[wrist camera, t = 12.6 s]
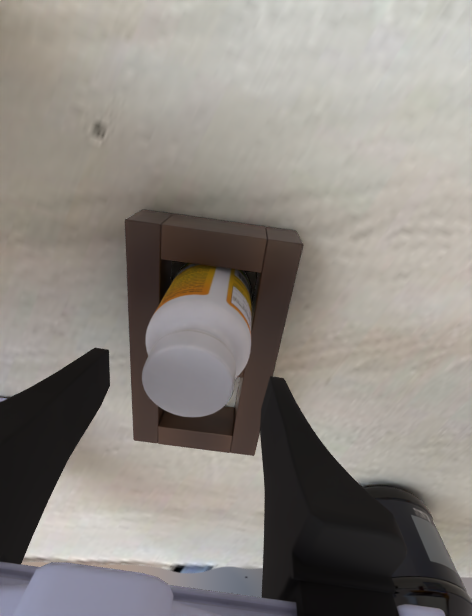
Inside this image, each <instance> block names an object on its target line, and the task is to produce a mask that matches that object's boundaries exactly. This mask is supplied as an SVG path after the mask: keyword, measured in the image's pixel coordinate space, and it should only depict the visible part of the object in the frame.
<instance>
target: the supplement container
mask: <svg viewBox="0 0 472 616" xmlns="http://www.w3.org/2000/svg"><path fill="white" fill-rule="evenodd" d="M364 489H365V490H366V491H367V492H368V493H369V494H370V495H371V496H373V497H374V498H375V499H376V500H377V501H379V502H380V503H381V504H382V505H383V506H384V507H386V508H387V509H388V510H389V511H390V512H391V513H393V515H394V518H395V520H396V522H397V524H398V526H399V528H400V531H401V533H402V536H403V538H404V541H405V544H406V546H407V555H406V557H405V559H404V561H403V563H402V564H401V565H400V566H399V567H398V569H397V570H396V571H395V572H394V573H393V575H392V579H393V582H394V585H395V593H394V594H393V593H392V594H393V597H394V601H395V604H396V607H397V606H399V605H404V604H408V605H417V606H424V607H431V608H438V609H441V610H442V611H444V613H445V616H472V598H471V597H470V596H469V595H468V593H467V591H466V589H465V587H464V585H463V583H462V581H461V579H460V576H459V574H458V572H457V570H456V568H455V566H454V564H453V562H452V560H451V557H450V555H449V553H448V551H447V549H446V547H445V545H444V543H443V541H442V539H441V537H440V534H439V532H438V530H437V528H436V526H435V524H434V522H433V518H432V516H431V514H430V511H429V510H428V508H427V507H426V505H425V504H424V503H423V502H422V501H421V500H420V499H419V498H418V497H416V496H415V495H413V494H411V493H409V492H407V491H404V490H402V489H398V488H394V487H387V486H370V487H364Z"/></svg>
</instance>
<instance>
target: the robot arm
mask: <svg viewBox="0 0 472 616" xmlns="http://www.w3.org/2000/svg"><path fill="white" fill-rule="evenodd" d="M109 386H110V372H109V350H106V349H100V348H94V349H92V350H90V351H89V352H87V353H86V354H84V355H83V356H81V357H80V358H78V359H77V360H75V361H74V362H72V363H71V364H69V365H67V366H66V367H64V368H63V369H61V370H59V371H58V372H56V373H55V374H53V375H51V376H49V377H48V378H46V379H44V380H43V381H41V382H39V383H37V384H36V385H34V386H32V387H30V388H28V389H26V390H24V391H22V392H20V393H18V394H16V395H14V396H12V397H10V398H8V399H7V398H0V616H445V613H444V611H442V610H441V609H438V608H431V607H424V606H417V605H408V604H404V605H399V606H397V607H396V604H395V601H394V597H393V594H394V593H395V585H394V582H393V579H392V575H393V573H394V572H395V571H396V570H397V569H398V567H399V566H400V565H401V564H402V563H403V561H404V559H405V557H406V555H407V546H406V544H405V541H404V538H403V536H402V533H401V531H400V528H399V526H398V524H397V522H396V520H395V518H394V515H393V513H391V512H390V511H389V510H388V509H387V508H386V507H384V506H383V505H382V504H381V503H380V502H379V501H377V500H376V499H375V498H374V497H373V496H371V495H370V494H369V493H368V492H367V491H366V490H365V489H364V488H363V487H362V486H361V485H360V484H359V483H357V482H356V481H355V480H354V479H353V478H352V477H351V476H350V475H349V474H348V472H347V471H346V470H345V469H344V468H343V467H342V466H341V465H340V464H339V463H338V462H337V461H336V459H335V458H334V457H333V456H332V455H331V454H330V452H329V451H328V450H327V449H326V447H325V446H324V445H323V443H322V442H321V441H320V439H319V438H318V437H317V435H316V434H315V432H314V431H313V429H312V428H311V426H310V425H309V423H308V422H307V420H306V418H305V417H304V415H303V413H302V412H301V410H300V408H299V406H298V405H297V403H296V401H295V399H294V397H293V395H292V393H291V391H290V389H289V387H288V385H287V383H286V381H285V380H284V378H278V377H272V376H270V379H269V382H268V386H267V389H266V393H265V396H264V400H263V404H262V407H261V419H260V435H261V448H262V460H263V471H264V486H265V514H264V554H263V580H262V598H260V597H253V596H246V595H238V594H231V593H223V592H216V591H210V590H202V589H195V588H188V587H180V586H173V585H168V583H166V582H164V581H163V580H161V579H160V578H158V577H155V576H152V575H148V574H144V573H139V572H132V571H124V570H117V569H110V568H103V567H96V566H88V565H81V564H74V563H67V562H51V563H49V564H46V565H44V566H42V567H35V566H28V565H21V563H22V560H23V558H24V556H25V553H26V551H27V548H28V546H29V543H30V541H31V539H32V536H33V534H34V532H35V529H36V527H37V525H38V523H39V520H40V518H41V516H42V514H43V511H44V509H45V507H46V505H47V503H48V500H49V498H50V496H51V494H52V492H53V490H54V487H55V485H56V483H57V481H58V479H59V477H60V475H61V473H62V471H63V469H64V467H65V465H66V463H67V461H68V459H69V457H70V456H71V454H72V452H73V450H74V449H75V447H76V445H77V444H78V442H79V441H80V439H81V437H82V436H83V434H84V433H85V431H86V429H87V428H88V426H89V424H90V423H91V421H92V420H93V418H94V416H95V415H96V413H97V411H98V410H99V408H100V406H101V404H102V402H103V400H104V398H105V396H106V393H107V391H108V389H109ZM392 593H393V594H392Z"/></svg>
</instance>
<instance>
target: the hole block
mask: <svg viewBox="0 0 472 616" xmlns="http://www.w3.org/2000/svg"><path fill="white" fill-rule="evenodd" d="M125 237H126V262H127V287H128V312H129V337H130V362H131V387H132V412H133V437H134V440H135V441H143V442H151V443H158V444H164V445H172V446H180V447H188V448H196V449H203V450H211V451H219V452H227V453H237V454H244V455H252V456H254V455H255V450H256V446H257V442H258V437H259V433H260V419H261V407H262V404H263V400H264V396H265V393H266V389H267V386H268V382H269V379H270V376H272V377H273V373H274V369H275V364H276V360H277V356H278V352H279V347H280V343H281V339H282V334H283V330H284V326H285V321H286V317H287V313H288V309H289V304H290V300H291V296H292V291H293V287H294V283H295V279H296V274H297V270H298V266H299V261H300V257H301V253H302V249H303V243H302V241H301V239H300V237H299V235H298V233H297V231H293V230H286V229H279V228H272V227H266V228H265V226H258V225H251V224H244V223H237V222H229V221H222V220H215V219H208V218H201V217H193V216H186V215H179V214H171V213H164V212H157V211H150V210H141V211H139V212H137V213H135V214H134V215H132V216H130V217H129V218H127V219H125ZM172 261H178V262H185V263H193V264H200V265H207V266H215V267H222V268H229V269H237V270H244V271H251V272H258V274H257V280H256V286H255V292H254V298H253V304H252V309H251V350H250V356H249V359H248V362H247V364H246V366H245V368H244V369H243V371H242V372H241V373H240V374H239V376H237V377H240V380H239V386H238V392H237V398H236V403H235V408H234V407H227V406H224V407H223V408H222V409H220V410H218V411H217V412H215V413H213V414H210V415H207V416H202V417H184V416H179V415H175V414H172V413H170V412H167V411H165V410H163V409H162V408H160V407H159V406H158V405H156V404H155V403H154V402H153V401H152V400H151V399H150V398H149V396H148V395H147V393H146V392H145V390H144V387H143V383H142V371H143V367H144V365H145V362H146V360H147V358H148V353H147V349H146V331H147V328H148V325H149V323H150V320H151V318H152V316H153V314H154V313H155V311H156V309H157V308H158V306H159V304H160V302H161V301H162V299H163V297H164V296H165V294H166V292H167V290H168V289H169V287H170V285H171V269H172Z"/></svg>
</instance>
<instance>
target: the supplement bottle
mask: <svg viewBox="0 0 472 616" xmlns="http://www.w3.org/2000/svg"><path fill="white" fill-rule="evenodd" d="M251 303H252V298H251V286H250V282H249V280H248V277H247V275H246V274H245V272H244V271H243V270H237V269H229V268H222V267H215V266H207V265H200V264H193V263H186V264H185V265H184V266H183V267H182V268H181V269H180V270H179V272H178V273H177V275H176V277H175V278H174V280H173V282H172V283H171V285H170V287H169V289H168V290H167V292H166V294H165V296H164V297H163V299H162V301H161V302H160V304H159V306H158V308H157V309H156V311H155V313H154V314H153V316H152V318H151V320H150V323H149V325H148V328H147V331H146V349H147V353H148V358H147V360H146V362H145V365H144V367H143V371H142V383H143V387H144V390H145V392H146V393H147V395H148V396H149V398H150V399H151V400H152V401H153V402H154V403H155V404H156V405H158V406H159V407H160V408H162V409H163V410H165V411H167V412H170V413H172V414H175V415H179V416H184V417H202V416H207V415H210V414H213V413H215V412H217V411H218V410H220V409H222V408H223V407H224V406H225V405H226V404H227V403H228V401H229V400H230V398H231V396H232V394H233V391H234V384H235V378H236V377H237V376H239V374H240V373H241V372H242V371H243V369H244V368H245V366H246V364H247V362H248V359H249V356H250V350H251Z"/></svg>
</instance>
